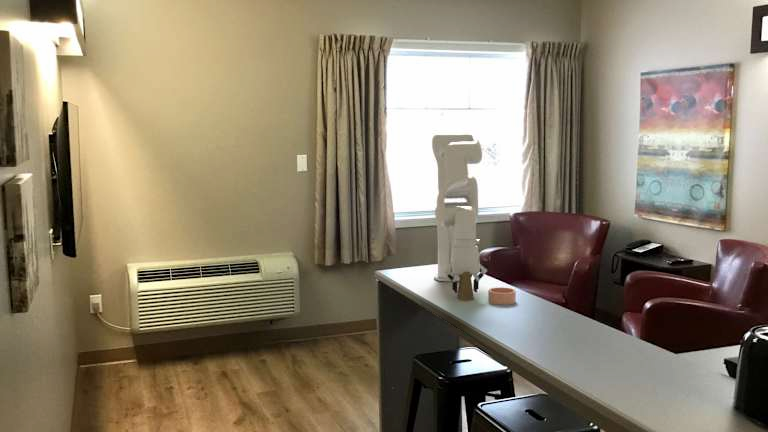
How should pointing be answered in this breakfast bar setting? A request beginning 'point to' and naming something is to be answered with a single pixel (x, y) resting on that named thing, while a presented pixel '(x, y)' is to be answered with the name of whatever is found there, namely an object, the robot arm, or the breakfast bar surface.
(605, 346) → the breakfast bar surface
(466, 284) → the cork
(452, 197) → the robot arm
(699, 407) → the breakfast bar surface
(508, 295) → the pink faceted round bowl
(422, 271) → the breakfast bar surface
